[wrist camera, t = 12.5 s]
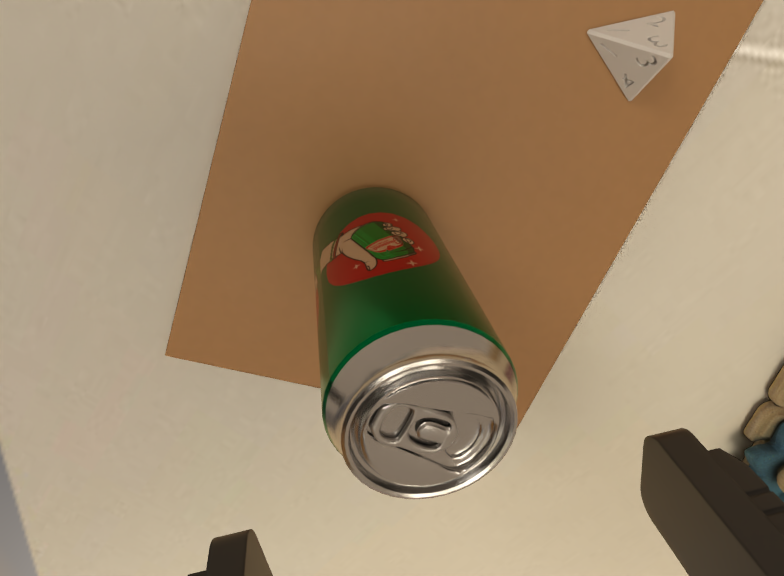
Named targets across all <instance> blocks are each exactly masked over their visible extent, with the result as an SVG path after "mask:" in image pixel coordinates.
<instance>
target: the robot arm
mask: <svg viewBox="0 0 784 576" xmlns="http://www.w3.org/2000/svg"><path fill="white" fill-rule="evenodd" d="M641 495H642V500H643V503H644V506H645V508H646V511H647V513H648V515H649V517H650V518H651V520H652V521H653V523H654V524H655V526H656V527H657V529H658V530H659V532H660V533H661V535H662V536H663V538H664V539H665V541H666V542H667V544H668V545H669V547H670V548H671V549H672V551H673V552H674V554H675V555H676V557H677V558H678V560H679V561H680V563H681V564H682V566H683V567H684V569H685V570H686V572H687V573H688V575H689V576H784V502H783V501H782V500H781V499H780V498H779V497H778V496H777V495H776V494H775V493H774V492H773V491H772V492H771V491H770V490H769V487H768V486H767V485H766V484H765V482H764V481H763V480H762V479H761V478H760V477H759V476H758V475H757V474H756V473H755V472H754V471H753V470H752V469H751V468H750V467H749V466H748V465H747V464H745V463H744V462H742V461H740V460H739V459H737V458H735V457H733V456H732V455H730V454H728V453H727V452H725V451H723V450H722V449H720V448H718V449H714V450H710V451H707V449H706V448H705V447H704V446H703V445H702V444H701V443H700V442H699V441H698V439H697V438H696V437H695V436H694V435H693V434H692V433H691V432H690V431H688V430H687V429H684V428H680V429H676V430H672V431H668V432H663V433H659V434H655V435H651V436H647V437H646V438H645V440H644V446H643V460H642V474H641ZM188 576H273V575H272V573H271V570H270V568H269V565H268V563H267V561H266V558H265V556H264V553H263V551H262V548H261V546H260V544H259V541H258V539H257V536H256V534H255V532H254V531H253V530H252V529H250V530H246V531H242V532H237V533H233V534H229V535H225V536H221V537H216V538H214V539H213V540H212V542H211V544H210V549H209V555H208V562H207V568H206V571H201V572H197V573H193V574H189V575H188Z"/></svg>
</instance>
